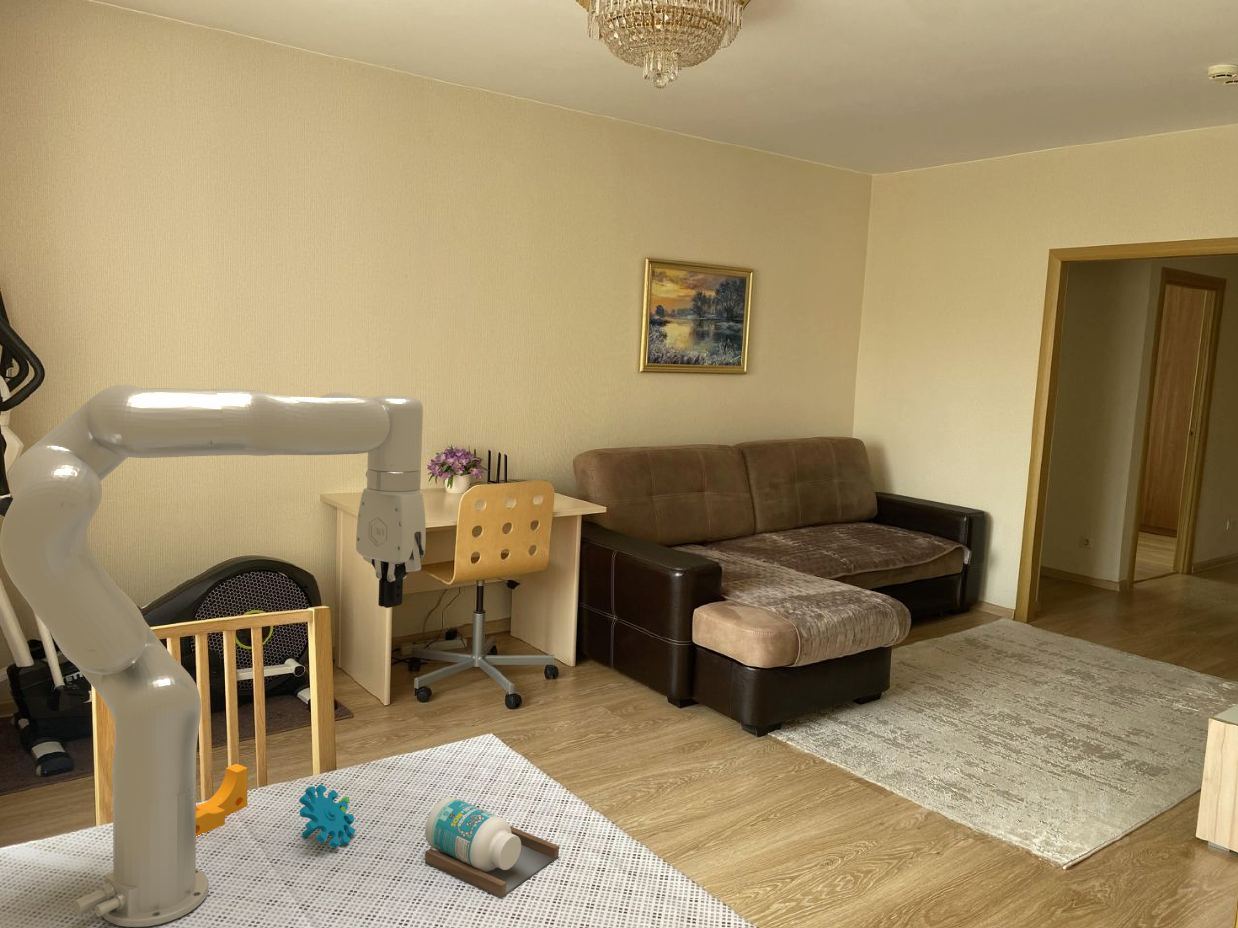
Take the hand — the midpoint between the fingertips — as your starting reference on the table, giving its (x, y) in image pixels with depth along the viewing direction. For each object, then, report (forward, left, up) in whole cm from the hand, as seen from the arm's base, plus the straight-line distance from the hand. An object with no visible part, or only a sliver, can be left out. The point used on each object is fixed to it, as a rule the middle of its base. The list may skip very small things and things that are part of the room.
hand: (390, 605), depth 136 cm
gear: (-6, +5, -35) cm, 36 cm away
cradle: (+4, -18, -35) cm, 40 cm away
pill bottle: (+2, -9, -31) cm, 33 cm away
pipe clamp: (-14, +22, -36) cm, 44 cm away
